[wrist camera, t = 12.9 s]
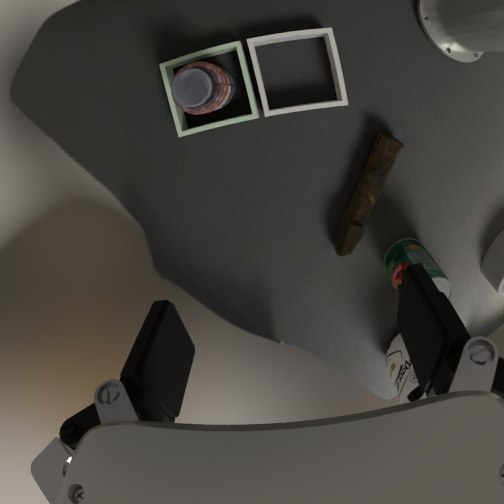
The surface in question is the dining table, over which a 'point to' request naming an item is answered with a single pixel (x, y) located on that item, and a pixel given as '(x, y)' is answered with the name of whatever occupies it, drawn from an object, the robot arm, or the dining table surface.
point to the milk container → (402, 371)
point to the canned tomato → (409, 254)
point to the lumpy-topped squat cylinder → (495, 264)
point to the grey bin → (333, 59)
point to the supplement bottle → (202, 88)
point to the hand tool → (366, 192)
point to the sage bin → (167, 66)
